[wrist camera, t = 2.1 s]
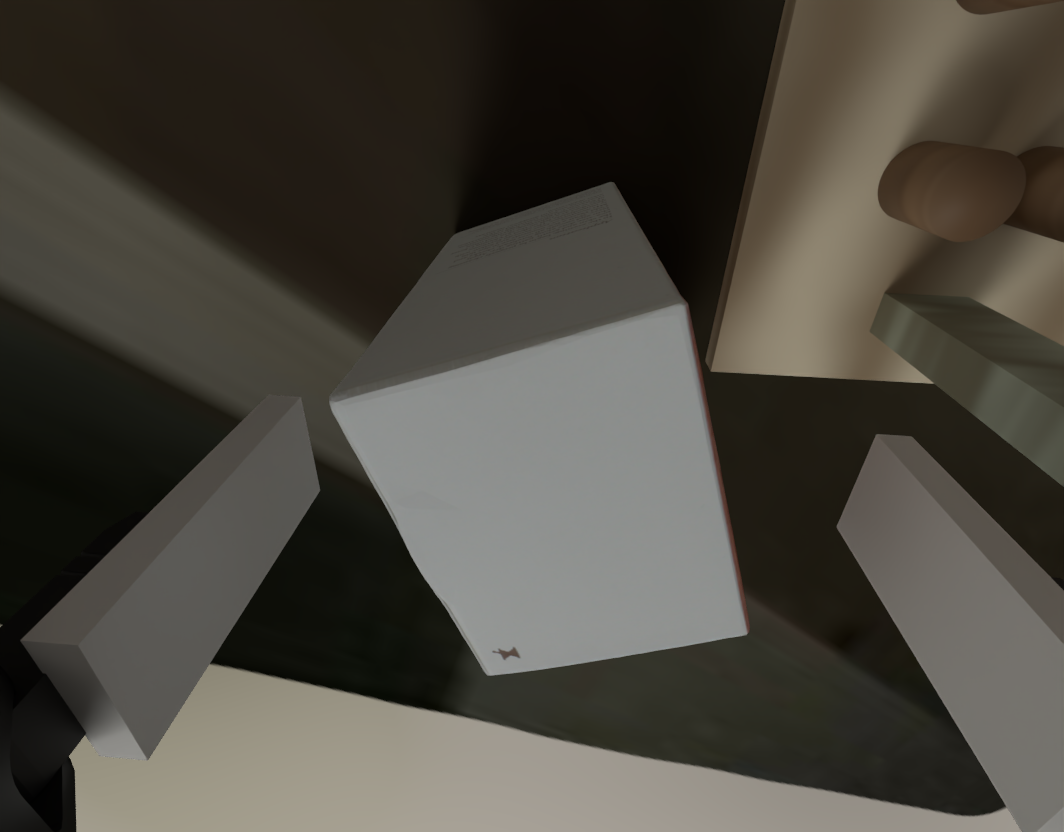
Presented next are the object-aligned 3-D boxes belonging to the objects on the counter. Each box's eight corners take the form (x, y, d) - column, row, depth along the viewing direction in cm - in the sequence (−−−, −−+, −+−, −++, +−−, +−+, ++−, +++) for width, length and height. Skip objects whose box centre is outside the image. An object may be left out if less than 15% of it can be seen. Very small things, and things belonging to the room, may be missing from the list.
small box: (662, 372, 23) (756, 644, 12) (519, 409, 24) (482, 686, 13) (616, 173, 19) (692, 294, 8) (449, 229, 20) (310, 404, 9)
